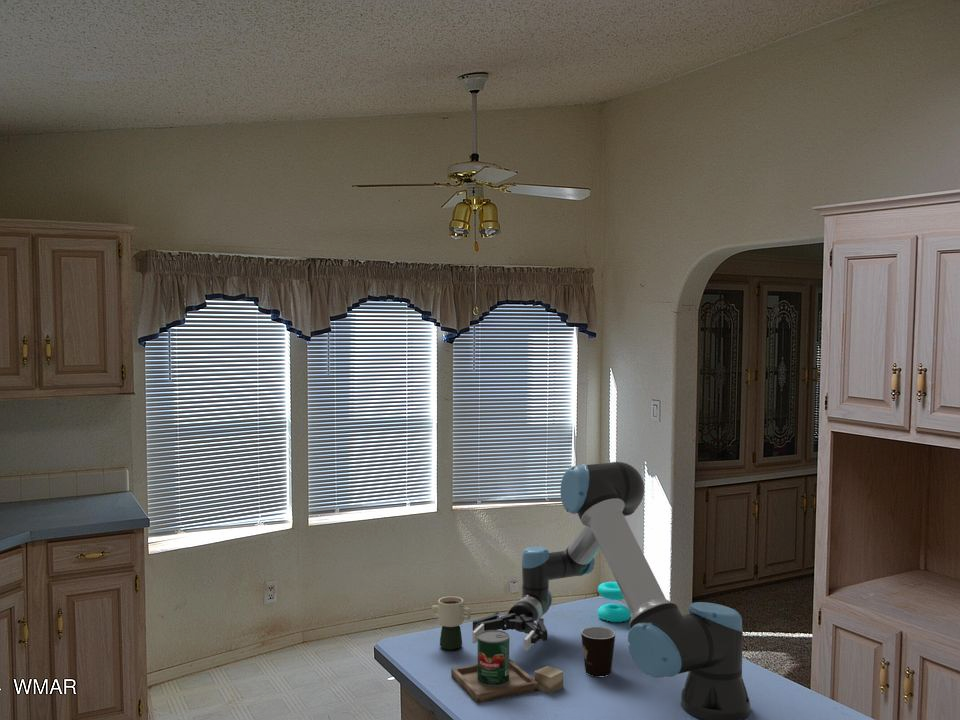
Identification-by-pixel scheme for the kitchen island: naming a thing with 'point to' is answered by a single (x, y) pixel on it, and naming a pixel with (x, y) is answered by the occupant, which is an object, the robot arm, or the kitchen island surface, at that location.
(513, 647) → the kitchen island surface
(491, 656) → the canned tomato
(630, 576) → the robot arm
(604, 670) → the coffee mug
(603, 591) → the donuts
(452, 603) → the character mug
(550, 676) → the wooden block
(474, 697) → the tray
